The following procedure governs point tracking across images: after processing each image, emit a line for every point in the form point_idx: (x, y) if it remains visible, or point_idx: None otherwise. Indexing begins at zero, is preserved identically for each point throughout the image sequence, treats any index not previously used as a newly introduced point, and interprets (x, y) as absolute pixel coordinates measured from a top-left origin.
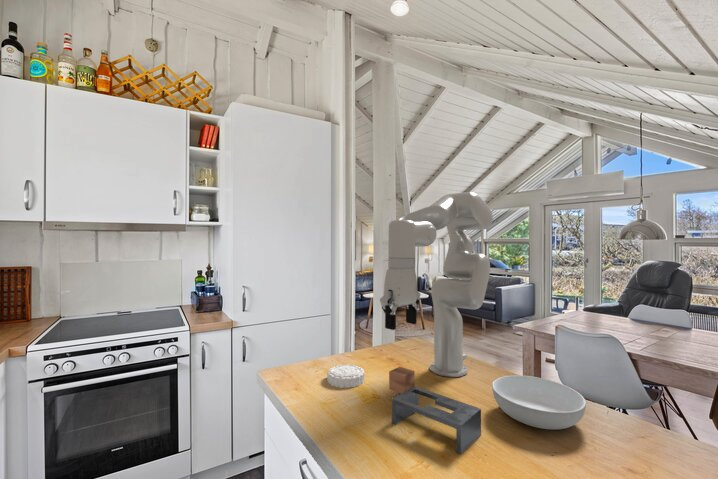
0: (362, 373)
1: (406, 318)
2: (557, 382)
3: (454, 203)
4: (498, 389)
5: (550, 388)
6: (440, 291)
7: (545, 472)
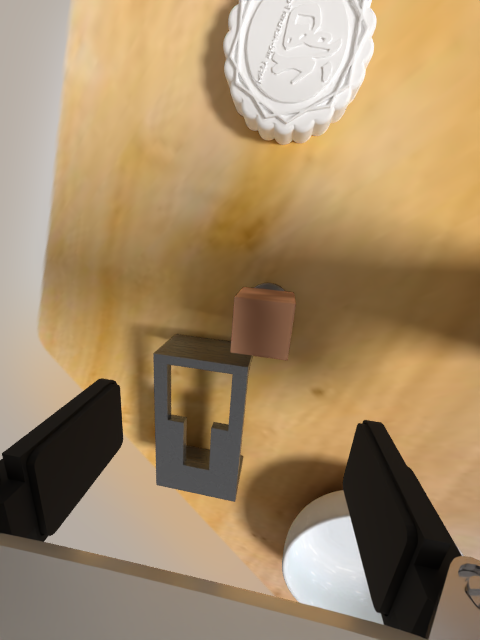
0: (316, 120)
1: (368, 445)
2: None
3: None
4: None
5: None
6: None
7: (211, 527)
